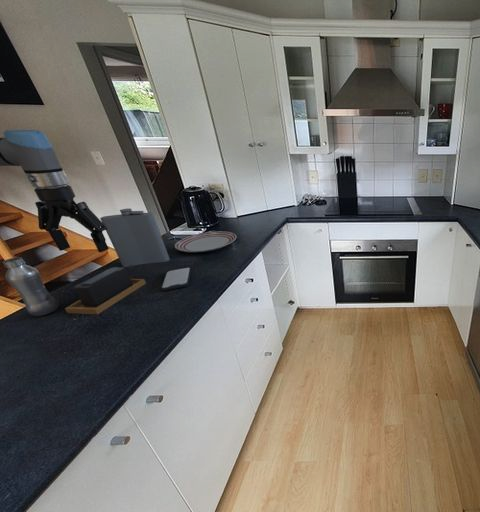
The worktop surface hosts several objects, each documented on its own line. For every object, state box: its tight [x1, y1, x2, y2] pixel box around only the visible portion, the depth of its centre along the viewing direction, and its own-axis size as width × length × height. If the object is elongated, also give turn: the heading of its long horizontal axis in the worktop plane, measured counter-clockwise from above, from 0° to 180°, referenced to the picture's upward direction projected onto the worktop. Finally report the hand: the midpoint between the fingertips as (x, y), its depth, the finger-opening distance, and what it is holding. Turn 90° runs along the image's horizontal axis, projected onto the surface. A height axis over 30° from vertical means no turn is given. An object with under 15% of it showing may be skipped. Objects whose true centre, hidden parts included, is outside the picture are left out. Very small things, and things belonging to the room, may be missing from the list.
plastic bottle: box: [2, 256, 60, 317], centre depth 87 cm, size 6×7×20 cm
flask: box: [99, 207, 171, 268], centre depth 119 cm, size 17×5×25 cm, turn 111°
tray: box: [64, 278, 147, 315], centre depth 100 cm, size 11×20×2 cm, turn 177°
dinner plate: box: [174, 231, 238, 254], centre depth 141 cm, size 27×27×3 cm
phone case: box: [160, 267, 192, 292], centre depth 111 cm, size 9×2×16 cm
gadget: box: [72, 266, 133, 307], centre depth 98 cm, size 14×5×8 cm, turn 177°
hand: (84, 249), depth 91 cm, fingers open, 13 cm apart
